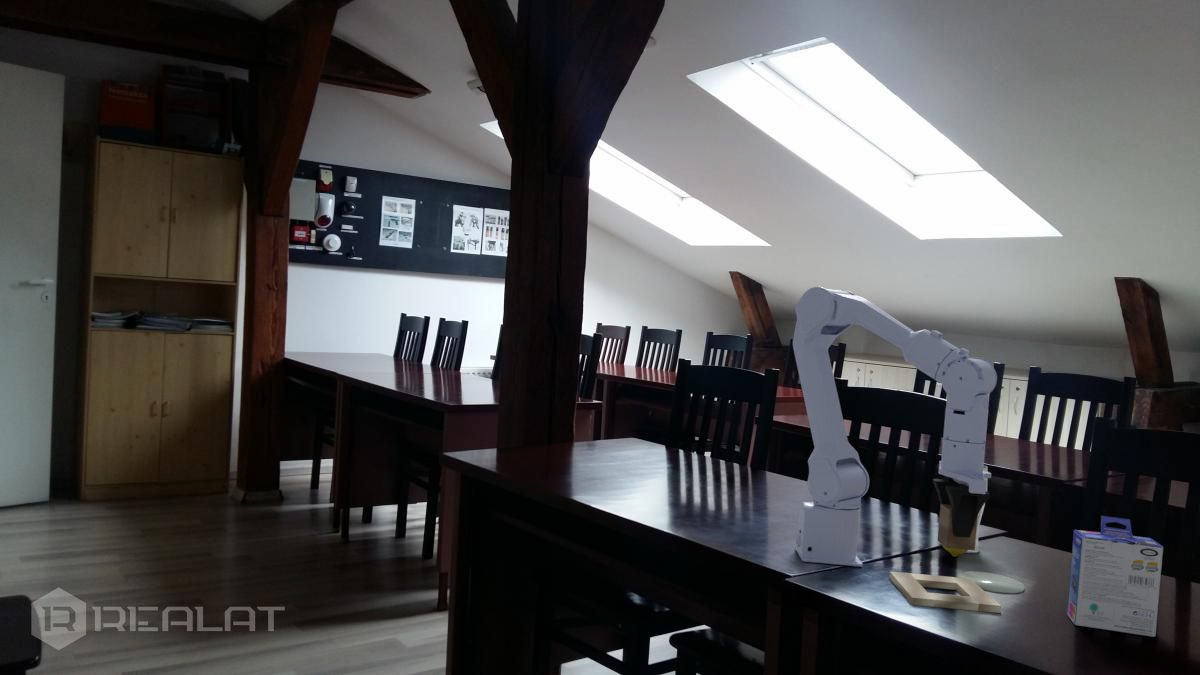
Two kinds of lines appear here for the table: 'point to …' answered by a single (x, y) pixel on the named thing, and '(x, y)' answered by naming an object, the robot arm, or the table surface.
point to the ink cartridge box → (1115, 579)
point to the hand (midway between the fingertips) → (956, 532)
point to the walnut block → (947, 534)
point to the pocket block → (966, 587)
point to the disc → (994, 582)
